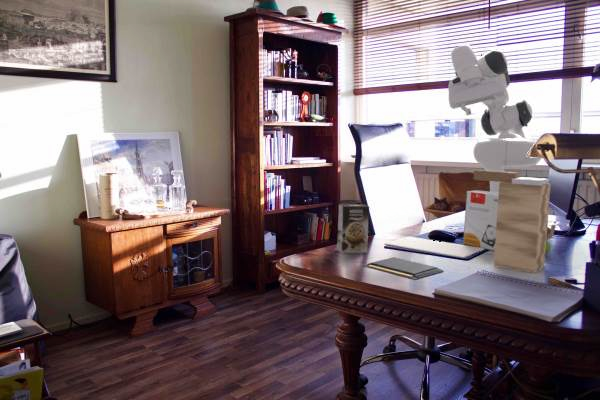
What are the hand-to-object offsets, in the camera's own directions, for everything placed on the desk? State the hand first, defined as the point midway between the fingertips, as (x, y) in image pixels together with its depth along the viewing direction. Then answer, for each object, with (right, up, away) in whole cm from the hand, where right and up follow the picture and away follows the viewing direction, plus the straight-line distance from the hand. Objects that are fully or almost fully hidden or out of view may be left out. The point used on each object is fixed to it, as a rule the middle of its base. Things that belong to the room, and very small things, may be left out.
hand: (482, 110), depth 192 cm
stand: (+1, -53, -30) cm, 61 cm away
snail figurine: (+16, -52, -14) cm, 56 cm away
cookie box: (-49, -51, -13) cm, 72 cm away
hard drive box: (+1, -50, -2) cm, 50 cm away
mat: (-19, -50, -4) cm, 53 cm away
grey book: (-36, -54, -35) cm, 74 cm away
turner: (-2, -27, -30) cm, 40 cm away
